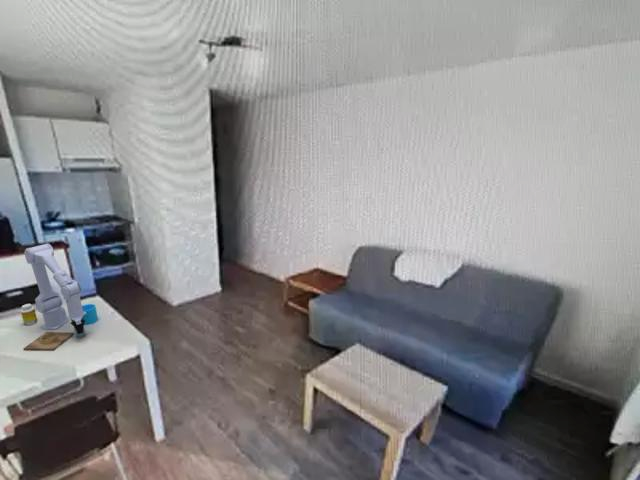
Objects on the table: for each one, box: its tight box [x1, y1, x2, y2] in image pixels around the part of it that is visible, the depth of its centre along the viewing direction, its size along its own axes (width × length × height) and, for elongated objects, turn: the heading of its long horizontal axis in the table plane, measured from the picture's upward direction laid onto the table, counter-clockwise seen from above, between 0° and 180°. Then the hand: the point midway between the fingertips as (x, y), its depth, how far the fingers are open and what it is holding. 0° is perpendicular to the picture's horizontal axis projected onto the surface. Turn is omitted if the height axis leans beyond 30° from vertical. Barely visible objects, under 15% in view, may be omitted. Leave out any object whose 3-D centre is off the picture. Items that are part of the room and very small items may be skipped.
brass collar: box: [39, 333, 58, 344], centre depth 170 cm, size 7×7×2 cm
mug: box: [82, 303, 99, 326], centre depth 189 cm, size 12×8×8 cm
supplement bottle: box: [20, 303, 38, 326], centre depth 185 cm, size 6×6×10 cm
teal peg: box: [73, 325, 86, 339], centre depth 175 cm, size 4×4×7 cm
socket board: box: [23, 331, 75, 352], centre depth 170 cm, size 14×14×1 cm
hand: (79, 331), depth 175 cm, fingers closed on teal peg, 4 cm apart
